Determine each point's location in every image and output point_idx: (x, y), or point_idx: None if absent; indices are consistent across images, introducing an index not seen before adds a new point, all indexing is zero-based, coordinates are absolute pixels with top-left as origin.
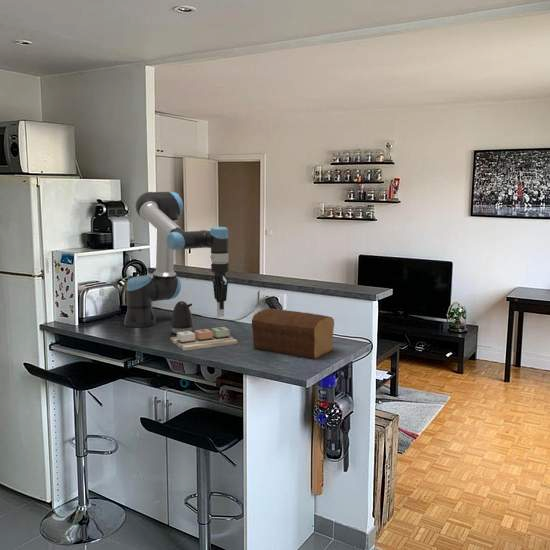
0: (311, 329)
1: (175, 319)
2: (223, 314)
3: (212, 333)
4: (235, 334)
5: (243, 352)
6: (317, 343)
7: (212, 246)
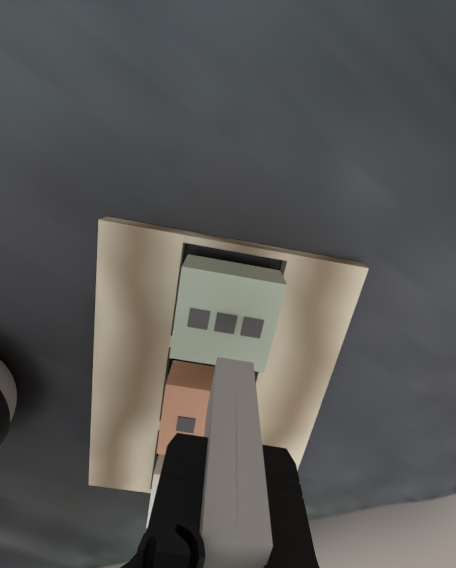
0: None
1: None
2: (253, 382)
3: (256, 391)
4: (155, 127)
5: None
6: None
7: None
